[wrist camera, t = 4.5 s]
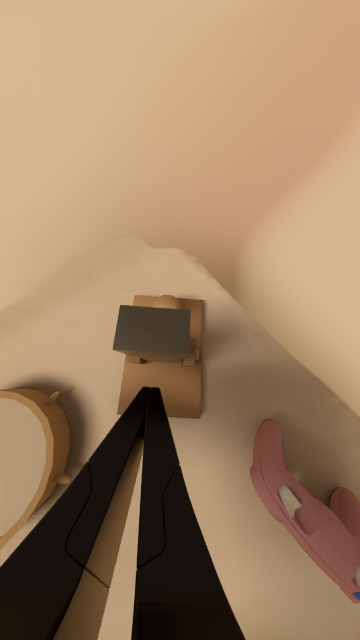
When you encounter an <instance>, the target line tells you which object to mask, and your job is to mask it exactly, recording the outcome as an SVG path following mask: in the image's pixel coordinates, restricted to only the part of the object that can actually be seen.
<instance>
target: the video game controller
mask: <svg viewBox="0 0 360 640" xmlns="http://www.w3.org/2000/svg"><path fill="white" fill-rule="evenodd" d="M250 475H251V480H252V483H253V485H254V488H255V491H256V494H257V497H258V499H259V500H260V501H261V503H262V504H264V506H265V507H266V508H267V510H268V511H269V512H270V514H271V515H272V516H273V517H274V518H276V519H277V520H278V521H279V522H282V523H283V524H284V525H285V526H286V528H287V529H288V530H289V532H290V533H291V534H292V536H293V537H294V538H295V539H296V541H297V542H298V543H299V545H300V546H301V547H302V548H303V549H304V551H305V552H306V553H307V554H308V555H309V556H310V557H311V558H312V560H313V561H314V562H315V563H316V564H317V565H318V566H319V567H320V568H321V569H322V570H323V571H324V572H325V573H326V574H327V575H328V576H329V577H330V578H331V579H332V580H333V581H334V582H335V583H336V584H337V585H339V587H340V588H341V589H342V591H343V592H344V593H345V594H346V596H347V597H348V598H349V599H350V600H352V601H353V602H354V603H356V604H358V603H360V502H359V500H358V499H357V497H356V496H355V495H354V494H353V493H352V492H351V491H349V490H348V489H346V488H337V489H336V490H335V491H334V492H333V493H332V495H331V498H330V504H329V508H328V507H327V506H325V505H324V504H323V503H321V502H320V501H319V500H317V499H316V498H315V497H313V496H312V495H311V494H310V493H309V492H308V491H307V490H306V489H305V488H304V487H303V486H302V485H301V484H300V483H299V482H298V481H297V480H296V479H295V478H294V477H293V476H292V475H291V474H290V473H289V471H288V470H287V469H286V467H285V465H284V461H283V452H282V431H281V428H280V425H279V423H278V422H277V421H275V420H273V419H269V420H266V421H265V422H264V423H263V424H262V425H261V427H260V429H259V431H258V433H257V436H256V439H255V444H254V452H253V465H252V466H251V468H250Z"/></svg>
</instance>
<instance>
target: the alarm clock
mask: <svg viewBox="0 0 360 640" xmlns="http://www.w3.org/2000/svg"><path fill="white" fill-rule="evenodd" d="M59 395H60V392H58V391H56V392H55V393H53V394H52V395H51V396H49V395H47V394H46V393H44V392H42V391H40V390H35V389H28V388H16V389H8V390H0V549H2V547H3V546H4V545H5V544H6V543H7V542H8V541H9V540H10V539H11V538H12V537H13V536H14V535H15V534H16V533H17V532H18V531H19V530H20V529H21V528H22V526H23V525H24V524H25V523H26V522H27V521H28V520H29V519H30V517H31V516H32V514H33V513H34V512H35V511H36V510H37V509H38V508H39V507H40V506H41V505H42V504H43V503H44V502H45V501H46V500H47V499H48V498H49V497H50V496H51V494H52V492H53V491H54V489H55V487H56V485H57V484H58V483H59V484H66V483H69V482H70V480H71V477H70V476H68V475H66V474H63V473H64V470H65V466H66V463H67V459H68V456H69V452H70V427H69V424H68V421H67V417H66V414H65V411H64V410H63V409H62V408H61V406H60V405H59V404H58V403H57V401H56V399H57V397H58V396H59Z"/></svg>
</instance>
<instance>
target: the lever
mask: <svg viewBox="0 0 360 640" xmlns="http://www.w3.org/2000/svg"><path fill="white" fill-rule="evenodd" d="M190 321H191V310H185V309H171V308H156V307H142V306H128V305H120V309H119V315H118V321H117V327H116V333H115V339H114V345H113V350H115V351H118V352H121V353H123V354H126V355H129V356H137V357H140V358H142V359H145V360H147V361H155V362H172V363H178V362H179V361H180V360H181V359H185V358H186V357H187V356H188V355H189V346H190Z"/></svg>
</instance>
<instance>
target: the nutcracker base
mask: <svg viewBox="0 0 360 640" xmlns="http://www.w3.org/2000/svg"><path fill="white" fill-rule="evenodd" d="M133 306H142V307H156V308H171V309H185V310H191V321H190V346H189V355H188V356H187V357H186V358H185V359H181V360H180V361H179V362H178V363H172V362H155V361H147V360H145V359H142V358H140V357H137V356H129V355H126V358H125V365H124V372H123V379H122V385H121V392H120V399H119V406H118V413H117V414H118V415H122V414H123V412H124V411H125V410H126V408H127V407H128V406H129V404H130V403H131V402H132V400H133V399H134V398H135V396H136V395H137V393H138V392H139V391H140V389H141V388H142V387H144V386H145V387H151V388H152V387H159V388H160V390H161V394H162V398H163V402H164V406H165V410H166V413H167V417H177V418H197V419H200V402H201V350H202V300H193V299H179V298H175V297H173V296H171V295H163V296H161V297H151V296H137V295H135V296H134V303H133Z"/></svg>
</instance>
